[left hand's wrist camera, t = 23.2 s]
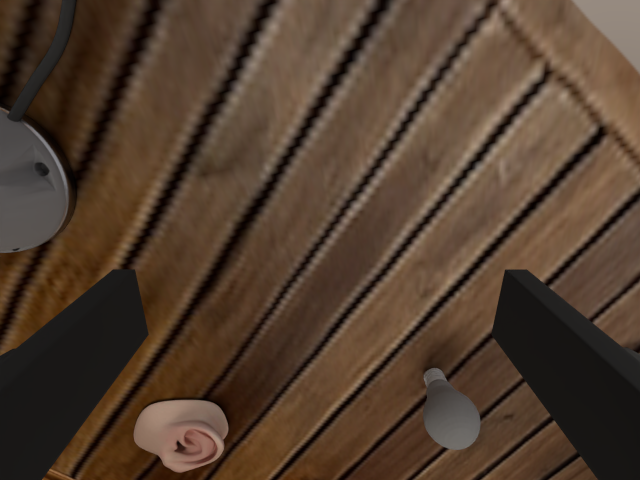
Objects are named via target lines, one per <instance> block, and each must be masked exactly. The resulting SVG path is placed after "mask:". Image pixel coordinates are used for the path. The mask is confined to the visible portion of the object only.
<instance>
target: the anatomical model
mask: <svg viewBox="0 0 640 480" xmlns="http://www.w3.org/2000/svg"><path fill="white" fill-rule="evenodd" d="M227 433H228V423H227V420H226V417H225V415H224V413H223V411H222V410H221V408H220V407H219V406H218V405H216V404H215V403H212V402H209V401H203V400H172V401H164V402H158V403H154V404H152V405H149V406H148V407H146V408H145V409H144V410H143V411H142V412H141V414H140V415H139V417H138V419H137V422H136V425H135V430H134V440H135V442H136V444H137V445H138V446H139V447H141V448H142V449H144V450H147V451H149V452H152V453H154V454H157V455H159V457H160V458H161V459H162V461H163V464H164V465H165V466H166V467H168V468H170V469H171V470H173V471H175V472H184V471H188V470H191V469H194V468H197V467H200V466H203V465H206V464H208V463H211V462H213V461H214V460H216V459H217V458H218V457H219V456H220V455H221V453H222V452H223V449H224V441H223V439H224V438H225V437H226V435H227Z"/></svg>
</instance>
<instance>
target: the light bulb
mask: <svg viewBox="0 0 640 480" xmlns="http://www.w3.org/2000/svg"><path fill="white" fill-rule="evenodd" d="M424 381H425V383H426V386H427V400H426V403H425V406H424V410H423V419H424V424H425V427H426V430H427V431H428V433H429V435H430V436H431V437H432V438H433V439H434V440H435V441H436V442H437V443H439V444H440V445H442V446H444V447H446V448H449V449H455V450H460V449H464V448H467V447H468V446H470V445H471V444H472V443H473V442H474V441H475V440H476V438H477V436H478V434H479V431H480V416H479V413H478V411H477V409H476V407H475V405H474V404H473V403H472V402H471V400H470V399H469V398H468V397H466V396H465V395H464V394H462V393H460V392H458V391H457V390H455V389H454V388H453V387H452V385H451V384H450V383H449V382H447V380H446V378H445V376H444V374H443V372H442V371H441V370H440V369H438V368H432V369H429V370H427V371H426V372H425V374H424Z"/></svg>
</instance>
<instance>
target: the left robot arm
mask: <svg viewBox="0 0 640 480" xmlns="http://www.w3.org/2000/svg"><path fill="white" fill-rule="evenodd" d="M75 5H76V0H62V6H61V13H60V19H59V24H58V28H57V31H56V35H55V37H54V40H53V42H52V44H51V46H50V48H49V50H48V52H47V54H46V55H45V57H44V59H43V60H42V61H41V63H40V64H39V66H38V67H37V69H36V70H35V71H34V73H33V74H32V76H31V77H30V79H29V81H28V82H27V84H26V86H25V87H24V89H23V90H22V92H21V94H20V95H19V97H18V99H17V100H16V102H15V104H14V105H13V107H9V106H7V105H4V104H1V103H0V253H9V252H17V251H23V250H27V249H31V248H34V247H37V246H39V245H41V244H43V243H45V242H47V241H48V240H50V239H52V238H54V237H55V236H57V235H58V234H59V233H61V232H62V231H63V230H64V228H65V227H66V226H67V224H68V223H69V221H70V219H71V217H72V215H73V212H74V208H75V202H76V189H75V182H74V177H73V174H72V171H71V168H70V166H69V163H68V161H67V159H66V157H65V156H64V154H63V152H62V151H61V149H60V148H59V146H58V145H57V143H56V142H55V141H54V140H53V139H52V137H51V136H50V135H49V134H48V133H47V132H46V131H45V130H44V129H43V128H42V127H41V126H40V125H38V124H37V123H36V122H35V121H33V120H32V119H31V118H29V117H28V116H26V115H25V112H26V110H27V109H28V107H29V105H30V104H31V102H32V100H33V99H34V97H35V95H36V94H37V92H38V91H39V89H40V87H41V86H42V84H43V83H44V81H45V80H46V78H47V77H48V76H49V74H50V73H51V71H52V70H53V68H54V67H55V65H56V64H57V62H58V61H59V59H60V57H61V55H62V53H63V51H64V49H65V47H66V44H67V42H68V39H69V36H70V32H71V28H72V23H73V17H74V11H75ZM148 335H149V334H148V329H147V325H146V320H145V315H144V311H143V306H142V301H141V296H140V292H139V287H138V282H137V278H136V273H135V270H112V271H111V272H110V273H108V274H107V275H106V276H105V277H104V278H102V279H101V280H100V281H99V282H97V283H96V284H95V285H94V286H92V287H91V288H90V289H89V290H88V291H86V292H85V293H84V294H83V295H81V296H80V297H79V298H78V299H77V300H75V301H74V302H73V303H72V304H70V305H69V306H68V307H67V308H65V309H64V310H63V311H62V312H61V313H59V314H58V315H57V316H56V317H54V318H53V319H52V320H51V321H49V322H48V323H47V324H46V325H45V326H43V327H42V328H41V329H40V330H38V331H37V332H36V333H35V334H34V335H32V336H31V337H30V338H29V339H27V340H26V341H25V342H24V343H22V344H21V345H20V346H19V347H18V348H16V349H12V350H10V351H8V352H6V353H4V354H3V355H1V356H0V480H42V479H43V477H44V476H45V475H46V473H47V472H48V471H49V469H50V468H51V467H52V465H53V464H54V462H55V461H56V460H57V458H58V457H59V456H60V454H61V453H62V452H63V450H64V449H65V448H66V446H67V445H68V443H69V442H70V441H71V439H72V438H73V437H74V435H75V434H76V433H77V431H78V430H79V428H80V427H81V426H82V424H83V423H84V422H85V420H86V419H87V418H88V416H89V415H90V413H91V412H92V411H93V409H94V408H95V407H96V405H97V404H98V403H99V401H100V400H101V399H102V397H103V396H104V394H105V393H106V392H107V390H108V389H109V388H110V386H111V385H112V384H113V382H114V381H115V379H116V378H117V377H118V375H119V374H120V373H121V371H122V370H123V369H124V367H125V366H126V365H127V363H128V362H129V360H130V359H131V358H132V356H133V355H134V354H135V352H136V351H137V350H138V348H139V347H140V345H141V344H142V343H143V341H144V340H145V339H146V337H147V336H148ZM491 335H492V336H493V337H494V339H495V340H496V341H497V343H498V344H499V345H500V347H501V348H502V350H503V351H504V352H505V354H506V355H507V356H508V358H509V359H510V360H511V362H512V363H513V365H514V366H515V367H516V369H517V370H518V371H519V373H520V374H521V375H522V377H523V378H524V379H525V381H526V382H527V384H528V385H529V386H530V388H531V389H532V390H533V392H534V393H535V394H536V396H537V397H538V399H539V400H540V401H541V403H542V404H543V405H544V407H545V408H546V409H547V411H548V412H549V413H550V415H551V416H552V418H553V419H554V420H555V422H556V423H557V424H558V426H559V427H560V428H561V430H562V431H563V433H564V434H565V435H566V437H567V438H568V439H569V441H570V442H571V443H572V445H573V446H574V448H575V449H576V450H577V452H578V453H579V454H580V456H581V457H582V458H583V460H584V461H585V462H586V464H587V465H588V467H589V468H590V469H591V471H592V472H593V473H594V475H595V476H596V477H597V479H598V480H640V354H638V353H636V352H635V351H633V350H631V349H629V348H622V347H621V346H620V345H619V344H618V343H616V342H615V341H614V340H613V339H611V338H610V337H609V336H608V335H606V334H605V333H604V332H603V331H602V330H600V329H599V328H598V327H597V326H595V325H594V324H593V323H592V322H591V321H589V320H588V319H587V318H586V317H584V316H583V315H582V314H581V313H579V312H578V311H577V310H576V309H575V308H573V307H572V306H571V305H570V304H568V303H567V302H566V301H565V300H563V299H562V298H561V297H560V296H559V295H557V294H556V293H555V292H554V291H552V290H551V289H550V288H549V287H548V286H546V285H545V284H544V283H543V282H541V281H540V280H539V279H538V278H536V277H535V276H534V275H533V274H532V273H530V272H529V271H528V270H505V273H504V278H503V282H502V287H501V292H500V296H499V301H498V306H497V311H496V315H495V320H494V325H493V329H492V334H491Z"/></svg>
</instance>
